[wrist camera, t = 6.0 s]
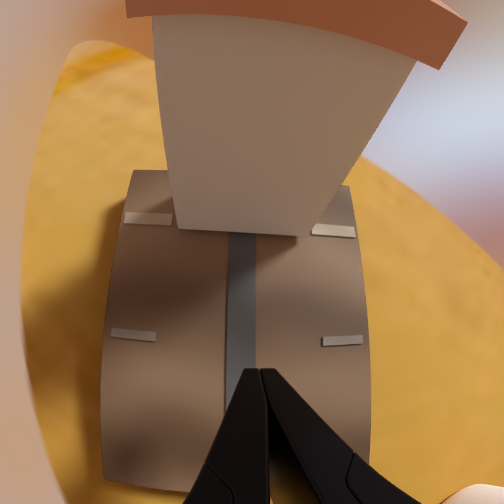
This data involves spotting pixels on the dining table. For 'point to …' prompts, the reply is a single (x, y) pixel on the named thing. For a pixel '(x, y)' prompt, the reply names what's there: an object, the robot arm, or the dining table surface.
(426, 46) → the fader tab
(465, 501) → the mug
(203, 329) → the fader console
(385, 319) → the dining table surface
